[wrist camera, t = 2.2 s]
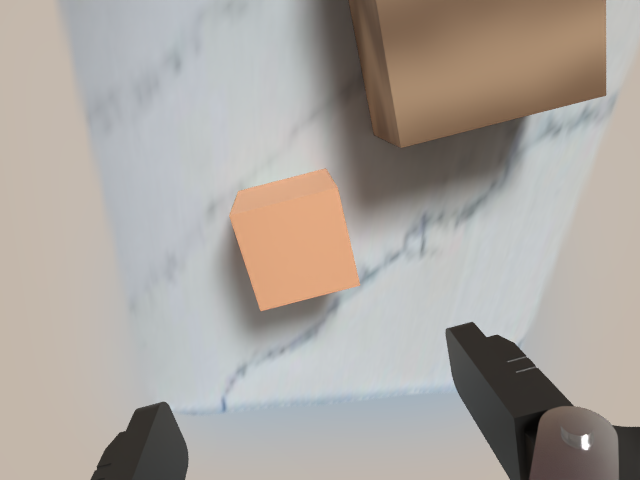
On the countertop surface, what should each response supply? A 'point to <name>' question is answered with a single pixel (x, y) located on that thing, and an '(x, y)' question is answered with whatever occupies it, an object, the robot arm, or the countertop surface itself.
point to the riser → (475, 62)
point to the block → (294, 239)
